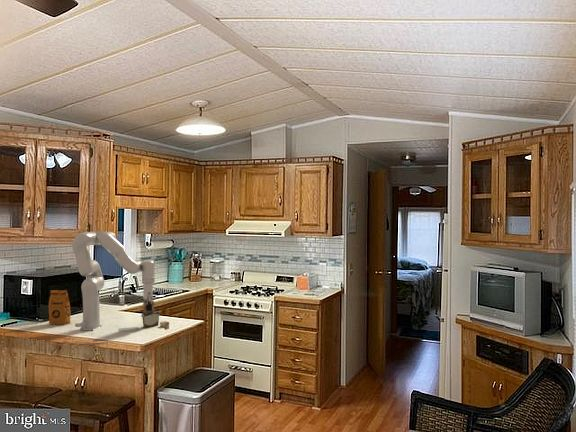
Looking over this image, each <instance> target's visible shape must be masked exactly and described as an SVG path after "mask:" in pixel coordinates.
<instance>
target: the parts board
mask: <svg viewBox="0 0 576 432" xmlns="http://www.w3.org/2000/svg"><path fill="white" fill-rule="evenodd" d="M117 330H118V333H127V332H137V331H141V330H140V327H139V326H131V327H120V328H117Z"/></svg>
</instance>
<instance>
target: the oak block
mask: <svg viewBox="0 0 576 432" xmlns="http://www.w3.org/2000/svg"><path fill="white" fill-rule="evenodd" d="M159 324H160V325H159V326H160V327H161V328H164V330H168V329H170V321H168V320H165V321H159Z"/></svg>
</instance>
